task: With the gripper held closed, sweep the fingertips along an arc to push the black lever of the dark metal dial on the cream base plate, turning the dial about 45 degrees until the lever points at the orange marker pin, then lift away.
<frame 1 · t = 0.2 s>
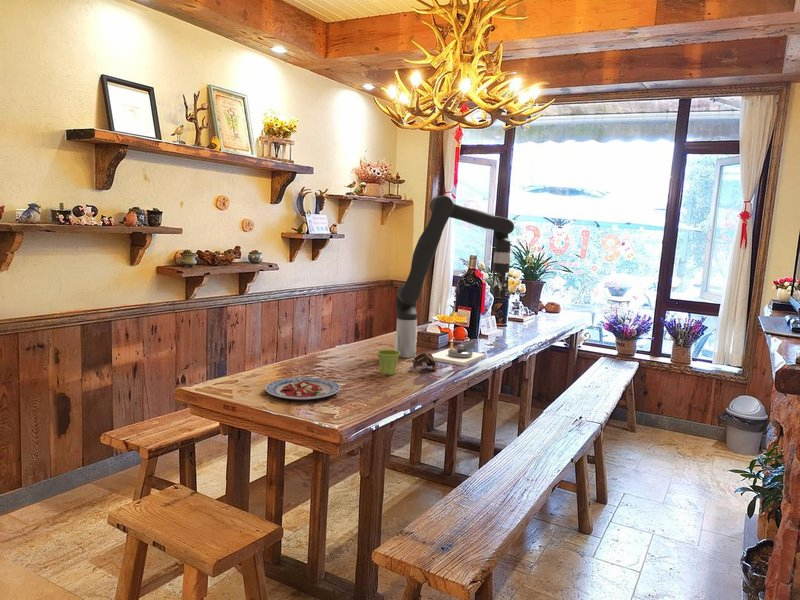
hand: (499, 296, 274), 28 cm above the table, tool pointing down, fingers open, 8 cm apart
ceramic plate: (302, 393, 206), on the table
plant pot: (387, 373, 237), on the table
brown mottled lump: (425, 370, 245), on the table
dial base: (460, 358, 267), on the table
dial: (463, 348, 269), point 4 cm above the table, hinge at 0.0°
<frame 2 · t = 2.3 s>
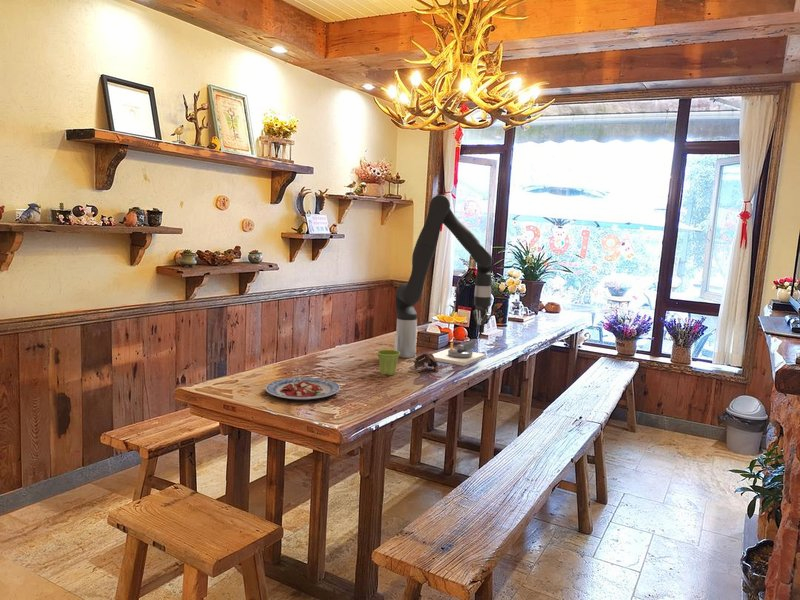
hand: (480, 332, 269), 12 cm above the table, tool pointing down, fingers closed
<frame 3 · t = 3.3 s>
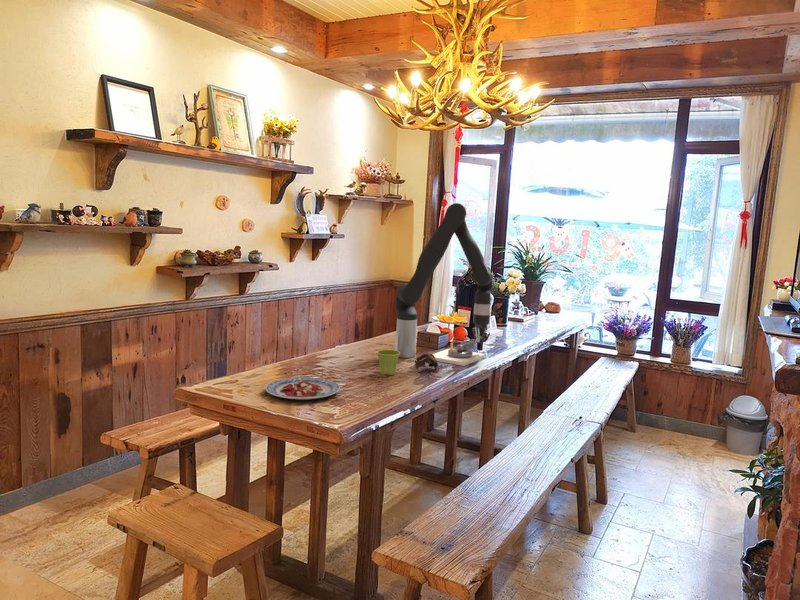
hand: (479, 350, 270), 4 cm above the table, tool pointing down, fingers closed
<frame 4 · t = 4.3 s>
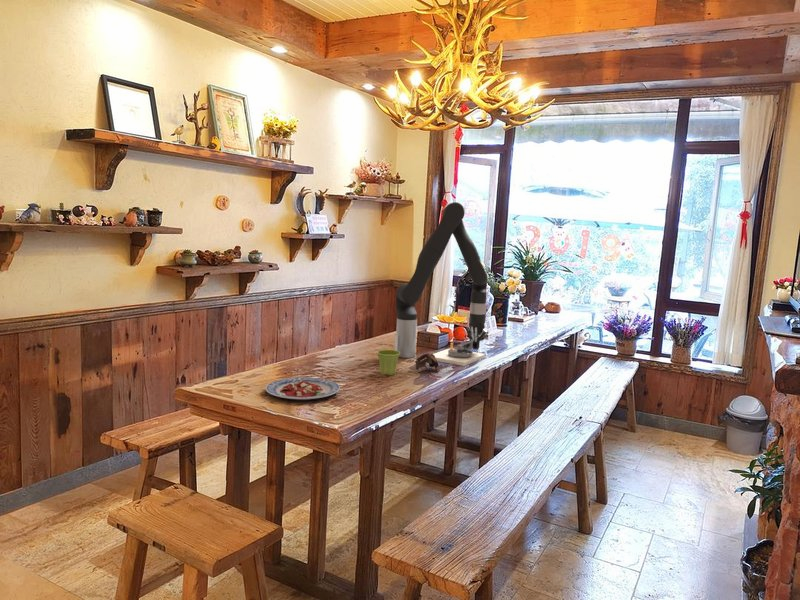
hand: (475, 349, 272), 3 cm above the table, tool pointing down, fingers closed
dial: (463, 348, 269), point 4 cm above the table, hinge at 0.1°, touching gripper
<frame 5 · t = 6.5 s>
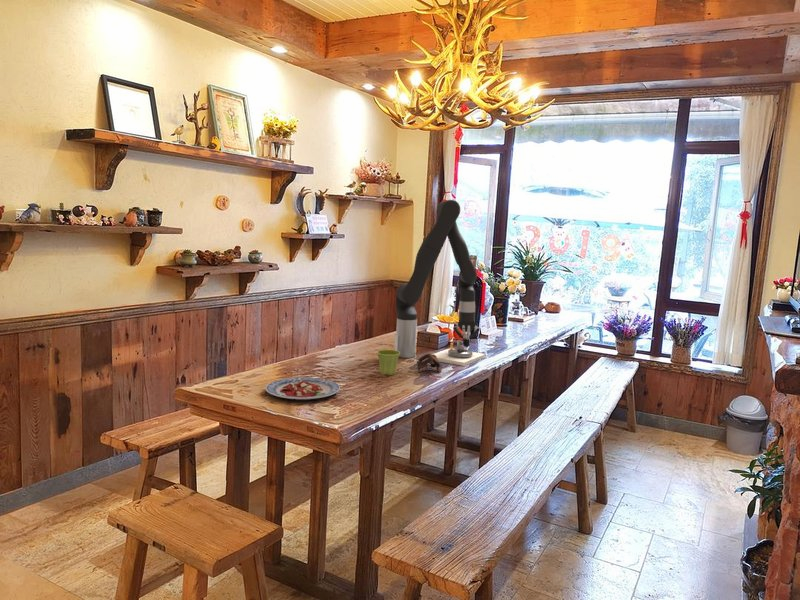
hand: (466, 346, 276), 4 cm above the table, tool pointing down, fingers closed
dial: (460, 348, 270), point 4 cm above the table, hinge at 30.0°, touching gripper
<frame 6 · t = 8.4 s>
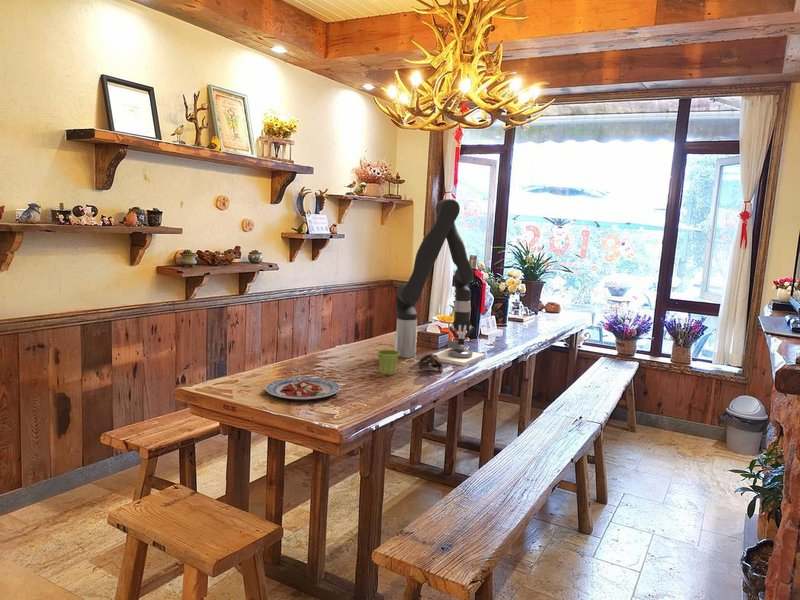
hand: (460, 346, 276), 4 cm above the table, tool pointing down, fingers closed
dial: (457, 348, 270), point 4 cm above the table, hinge at 52.2°
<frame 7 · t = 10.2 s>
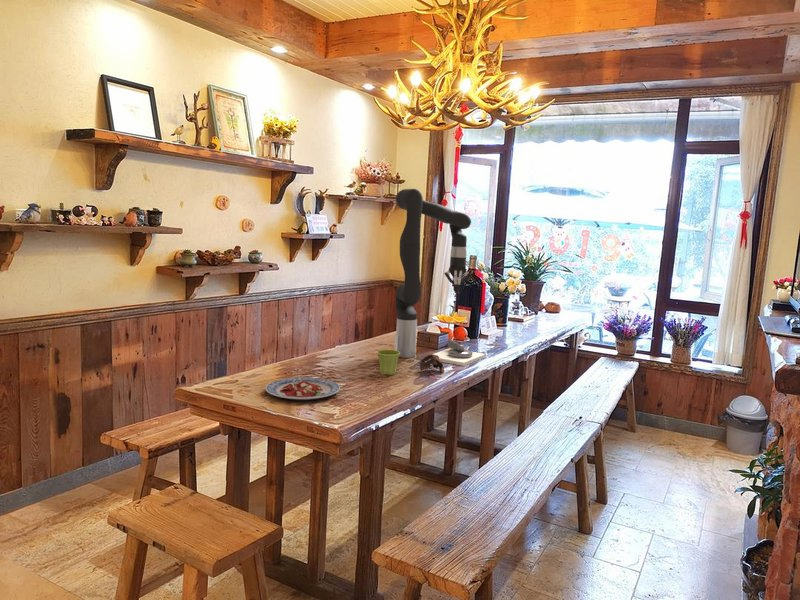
hand: (456, 292, 281), 28 cm above the table, tool pointing down, fingers closed
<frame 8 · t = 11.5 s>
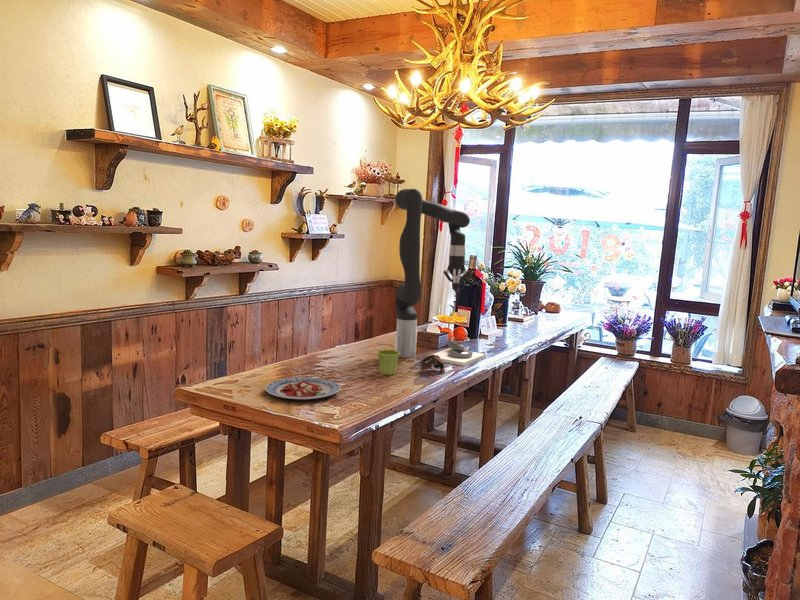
hand: (455, 290, 282), 29 cm above the table, tool pointing down, fingers closed
at the end: dial at +52° (first picture: +0°) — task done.
